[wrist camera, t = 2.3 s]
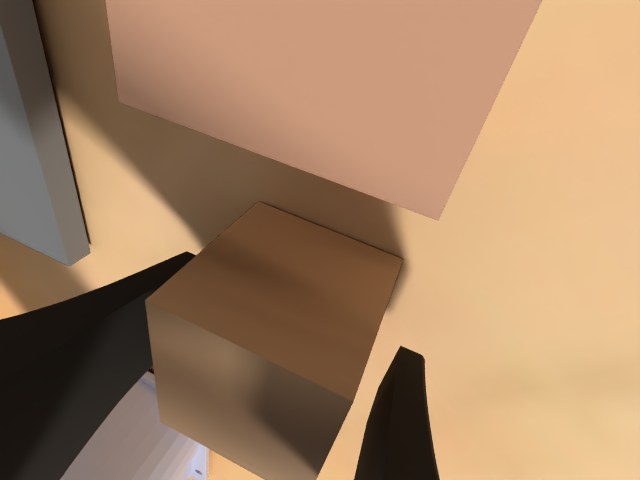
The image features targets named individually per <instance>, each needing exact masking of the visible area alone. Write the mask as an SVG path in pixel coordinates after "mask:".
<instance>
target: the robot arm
mask: <svg viewBox="0 0 640 480" xmlns="http://www.w3.org/2000/svg"><path fill="white" fill-rule="evenodd" d="M195 256H196V255H194V254H192V253H189V252H184V253H182V254H179V255H177V256H175V257H172V258H170V259H168V260H165V261H163V262H161V263H158V264H156V265H154V266H152V267H149V268H147V269H145V270H142V271H140V272H138V273H135V274H133V275H130V276H128V277H126V278H123V279H121V280H118V281H116V282H114V283H111V284H109V285H106V286H103V287H101V288H98V289H95V290H93V291H90V292H87V293H85V294H82V295H79V296H77V297H74V298H71V299H69V300H66V301H63V302H60V303H57V304H54V305H50V306H47V307H44V308H41V309H37V310H34V311H31V312H27V313H24V314H20V315H17V316H13V317H9V318H5V319H1V320H0V480H189V479H190V478H191V477H192V478H194V479H196V480H207V478H208V477H209V449H208V448H207V447H205V446H203V445H201V444H199V443H198V442H196V441H194V440H192V439H190V438H189V437H187V436H185V435H183V434H181V433H180V432H178V431H176V430H174V429H172V428H170V427H169V426H167V425H165V424H163V423H161V422H160V416H159V408H158V400H157V392H156V384H155V376H154V374H152V373H150V372H148V370H149V369H150V368H151V367H152V366H153V360H152V352H151V344H150V336H149V328H148V320H147V312H146V305H145V300H146V299H147V298H148V297H149V296H151V295H152V294H153V293H154V292H155V291H156V290H157V289H159V288H160V287H161V286H162V285H163V284H164V283H165V282H167V281H168V280H169V279H170V278H171V277H172V276H173V275H175V274H176V273H177V272H178V271H179V270H180V269H181V268H183V267H184V266H185V265H186V264H187V263H188V262H189V261H191V260H192V259H193V258H194V257H195ZM354 480H440V479H439V474H438V469H437V464H436V459H435V453H434V448H433V441H432V435H431V428H430V422H429V414H428V406H427V396H426V384H425V359H424V357H423V356H422V355H420V354H418V353H416V352H414V351H411V350H409V349H407V348H405V347H402V346H400V348H399V350H398V351H397V353H396V355H395V357H394V359H393V361H392V363H391V365H390V367H389V369H388V370H387V372H386V374H385V376H384V378H383V380H382V382H381V384H380V386H379V388H378V391H377V394H376V397H375V400H374V403H373V406H372V409H371V412H370V415H369V418H368V421H367V425H366V429H365V433H364V438H363V442H362V447H361V451H360V456H359V460H358V465H357V469H356V473H355V478H354Z"/></svg>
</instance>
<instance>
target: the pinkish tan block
mask: <svg viewBox="0 0 640 480" xmlns="http://www.w3.org/2000/svg"><path fill="white" fill-rule="evenodd" d="M105 2H106V9H107V17H108V25H109V32H110V40H111V47H112V55H113V63H114V70H115V78H116V85H117V93H118V101H119V102H120V103H122V104H125V105H128V106H130V107H133V108H136V109H139V110H141V111H144V112H147V113H149V114H152V115H155V116H157V117H160V118H163V119H166V120H168V121H171V122H174V123H176V124H179V125H182V126H184V127H187V128H190V129H192V130H195V131H198V132H201V133H203V134H206V135H209V136H211V137H214V138H217V139H219V140H222V141H225V142H228V143H230V144H233V145H236V146H238V147H241V148H244V149H246V150H249V151H252V152H254V153H257V154H260V155H263V156H265V157H268V158H271V159H273V160H276V161H279V162H281V163H284V164H287V165H289V166H292V167H295V168H298V169H300V170H303V171H306V172H308V173H311V174H314V175H316V176H319V177H322V178H325V179H327V180H330V181H333V182H335V183H338V184H341V185H343V186H346V187H349V188H351V189H354V190H357V191H360V192H362V193H365V194H368V195H370V196H373V197H376V198H378V199H381V200H384V201H387V202H389V203H392V204H395V205H397V206H400V207H403V208H405V209H408V210H411V211H413V212H416V213H419V214H422V215H424V216H427V217H430V218H432V219H435V220H439V218H440V216H441V214H442V211H443V209H444V207H445V205H446V203H447V201H448V199H449V197H450V195H451V192H452V190H453V188H454V186H455V184H456V182H457V180H458V178H459V175H460V173H461V171H462V169H463V167H464V165H465V163H466V161H467V159H468V156H469V154H470V152H471V150H472V148H473V146H474V144H475V142H476V140H477V137H478V135H479V133H480V131H481V129H482V127H483V125H484V123H485V120H486V118H487V116H488V114H489V112H490V110H491V108H492V106H493V104H494V101H495V99H496V97H497V95H498V93H499V91H500V89H501V87H502V84H503V82H504V80H505V78H506V76H507V74H508V72H509V70H510V68H511V65H512V63H513V61H514V59H515V57H516V55H517V53H518V51H519V49H520V46H521V44H522V42H523V40H524V38H525V36H526V34H527V32H528V29H529V27H530V25H531V23H532V21H533V19H534V17H535V15H536V13H537V10H538V8H539V6H540V4H541V2H542V0H105Z"/></svg>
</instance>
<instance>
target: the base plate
mask: <svg viewBox="0 0 640 480" xmlns="http://www.w3.org/2000/svg"><path fill="white" fill-rule="evenodd" d="M0 233H1V234H3V235H5V236H7V237H9V238H12V239H14V240H16V241H18V242H20V243H22V244H24V245H26V246H28V247H30V248H32V249H34V250H36V251H38V252H41V253H43V254H45V255H47V256H49V257H51V258H53V259H55V260H57V261H59V262H61V263H63V264H65V265H67V266H71V265H73V264H74V263H76V262H77V261H79V260H80V259H82V258H83V257H85V256H87V255H88V254H90V253H91V252H90V248H89V243H88V239H87V235H86V231H85V226H84V222H83V218H82V213H81V209H80V205H79V200H78V196H77V192H76V187H75V183H74V179H73V175H72V170H71V166H70V162H69V157H68V153H67V149H66V144H65V140H64V136H63V131H62V127H61V123H60V119H59V114H58V110H57V106H56V101H55V97H54V93H53V88H52V84H51V80H50V75H49V71H48V67H47V63H46V58H45V54H44V50H43V45H42V41H41V37H40V32H39V28H38V24H37V19H36V15H35V11H34V7H33V2H32V0H0Z"/></svg>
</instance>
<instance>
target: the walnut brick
mask: <svg viewBox="0 0 640 480" xmlns="http://www.w3.org/2000/svg"><path fill="white" fill-rule="evenodd" d="M402 261H403V259H401V258H399V257H396V256H394V255H391V254H389V253H386V252H384V251H381V250H379V249H376V248H374V247H371V246H369V245H366V244H364V243H361V242H359V241H356V240H354V239H351V238H349V237H346V236H344V235H341V234H339V233H336V232H334V231H331V230H329V229H326V228H324V227H321V226H319V225H316V224H314V223H311V222H309V221H306V220H304V219H301V218H299V217H296V216H294V215H291V214H289V213H286V212H284V211H281V210H279V209H276V208H274V207H271V206H269V205H266V204H264V203H261V202H259V201H258V202H257V203H256V204H255V205H254V206H252V207H251V208H250V209H249V210H248V211H247V212H246V213H244V214H243V215H242V216H241V217H240V218H239V219H238V220H236V221H235V222H234V223H233V224H232V225H231V226H230V227H228V228H227V229H226V230H225V231H224V232H223V233H222V234H220V235H219V236H218V237H217V238H216V239H215V240H214V241H212V242H211V243H210V244H209V245H208V246H207V247H206V248H204V249H203V250H202V251H201V252H200V253H199V254H198V255H196V256H195V257H194V258H193V259H192V260H191V261H189V262H188V263H187V264H186V265H185V266H184V267H183V268H181V269H180V270H179V271H178V272H177V273H176V274H175V275H173V276H172V277H171V278H170V279H169V280H168V281H167V282H165V283H164V284H163V285H162V286H161V287H160V288H159V289H157V290H156V291H155V292H154V293H153V294H152V295H151V296H149V297H148V298H147V299H146V300H145V305H146V312H147V320H148V328H149V336H150V344H151V352H152V360H153V368H154V376H155V384H156V392H157V400H158V408H159V416H160V422H161V423H163V424H165V425H167V426H169V427H170V428H172V429H174V430H176V431H178V432H180V433H181V434H183V435H185V436H187V437H189V438H190V439H192V440H194V441H196V442H198V443H199V444H201V445H203V446H205V447H207V448H208V449H210V450H212V451H214V452H216V453H218V454H219V455H221V456H223V457H225V458H227V459H228V460H230V461H232V462H234V463H236V464H237V465H239V466H241V467H243V468H245V469H247V470H248V471H250V472H252V473H254V474H256V475H257V476H259V477H261V478H263V479H265V480H316V479H317V477H318V475H319V473H320V470H321V468H322V466H323V464H324V462H325V460H326V458H327V456H328V454H329V452H330V449H331V447H332V445H333V443H334V441H335V439H336V437H337V435H338V433H339V431H340V429H341V426H342V424H343V422H344V420H345V418H346V416H347V414H348V412H349V410H350V408H351V405H352V403H353V401H354V398H355V395H356V393H357V390H358V387H359V384H360V381H361V378H362V376H363V373H364V370H365V367H366V364H367V361H368V358H369V356H370V353H371V350H372V347H373V344H374V341H375V338H376V336H377V333H378V330H379V327H380V324H381V321H382V318H383V316H384V313H385V310H386V307H387V304H388V301H389V299H390V296H391V293H392V290H393V287H394V284H395V281H396V279H397V276H398V273H399V270H400V267H401V264H402Z"/></svg>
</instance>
